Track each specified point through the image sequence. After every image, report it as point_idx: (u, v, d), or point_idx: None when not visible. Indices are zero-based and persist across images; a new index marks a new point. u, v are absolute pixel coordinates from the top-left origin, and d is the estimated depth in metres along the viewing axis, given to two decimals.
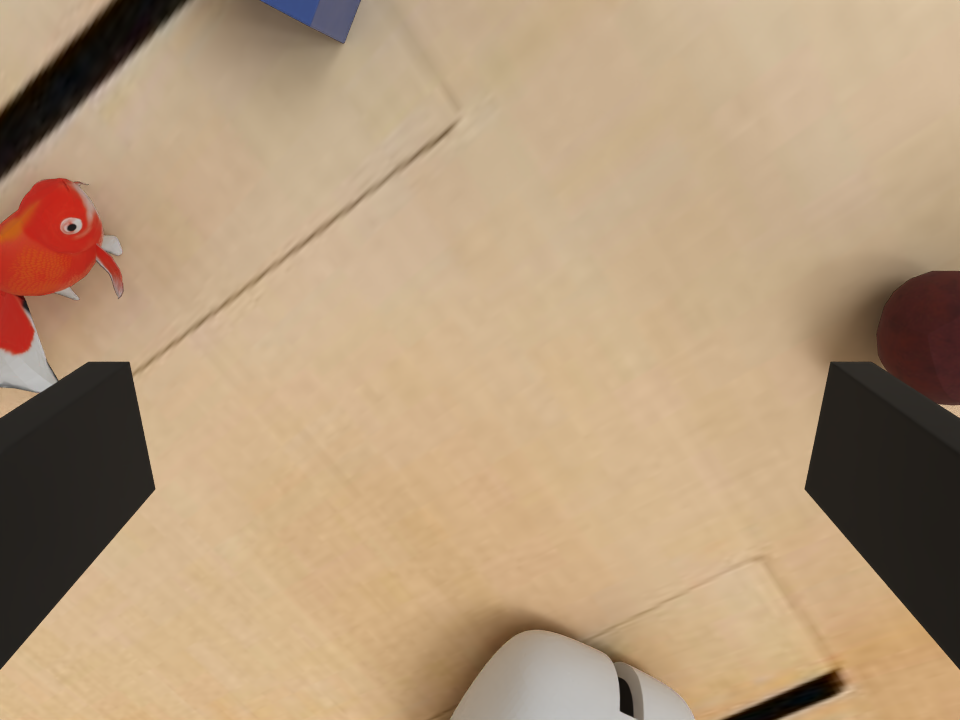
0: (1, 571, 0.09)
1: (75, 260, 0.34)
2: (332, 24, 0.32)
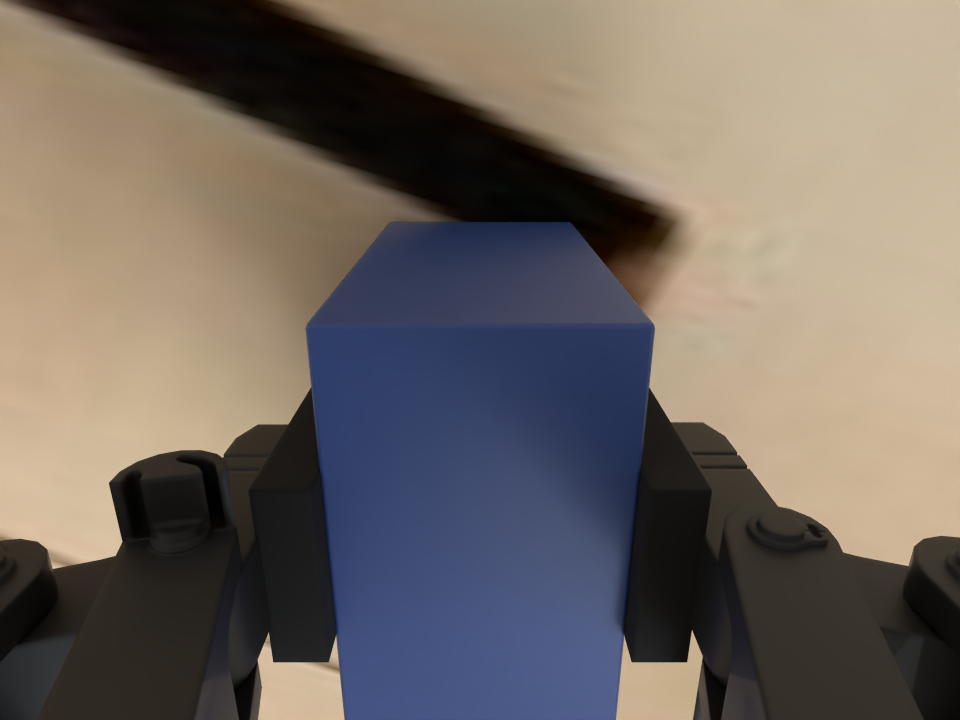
0: None
1: None
2: None
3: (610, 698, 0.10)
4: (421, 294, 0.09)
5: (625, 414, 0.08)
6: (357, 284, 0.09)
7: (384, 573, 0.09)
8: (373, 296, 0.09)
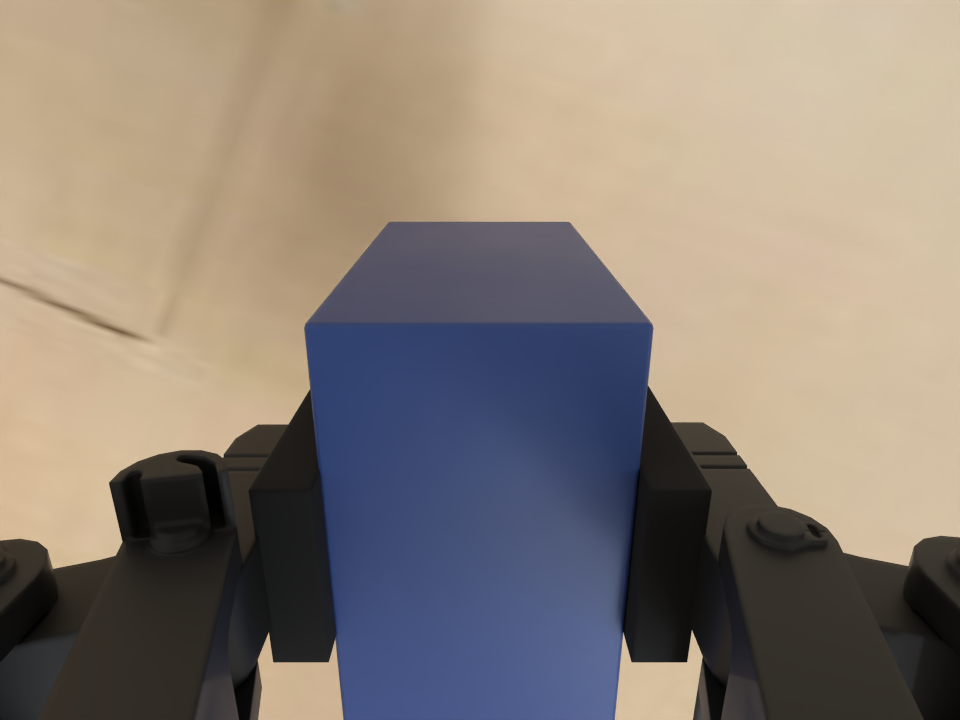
0: None
1: None
2: None
3: (609, 698, 0.10)
4: (420, 294, 0.09)
5: (624, 414, 0.08)
6: (356, 283, 0.09)
7: (384, 573, 0.09)
8: (371, 296, 0.09)
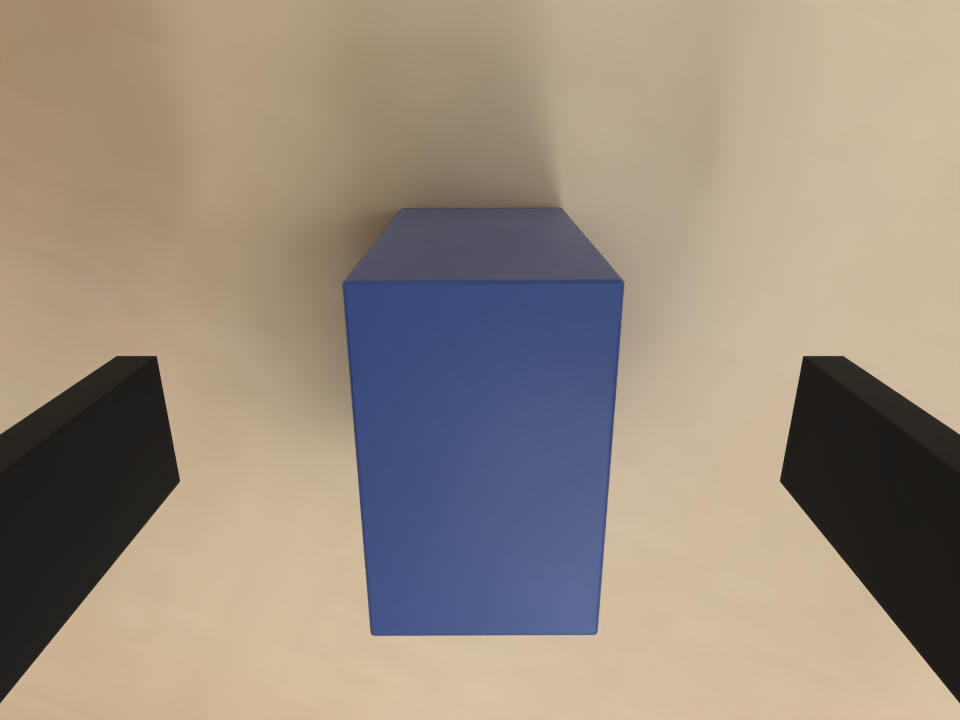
0: (42, 557, 0.09)
1: None
2: None
3: (593, 601, 0.12)
4: (434, 261, 0.11)
5: (601, 355, 0.10)
6: (380, 254, 0.11)
7: (404, 492, 0.11)
8: (394, 262, 0.11)
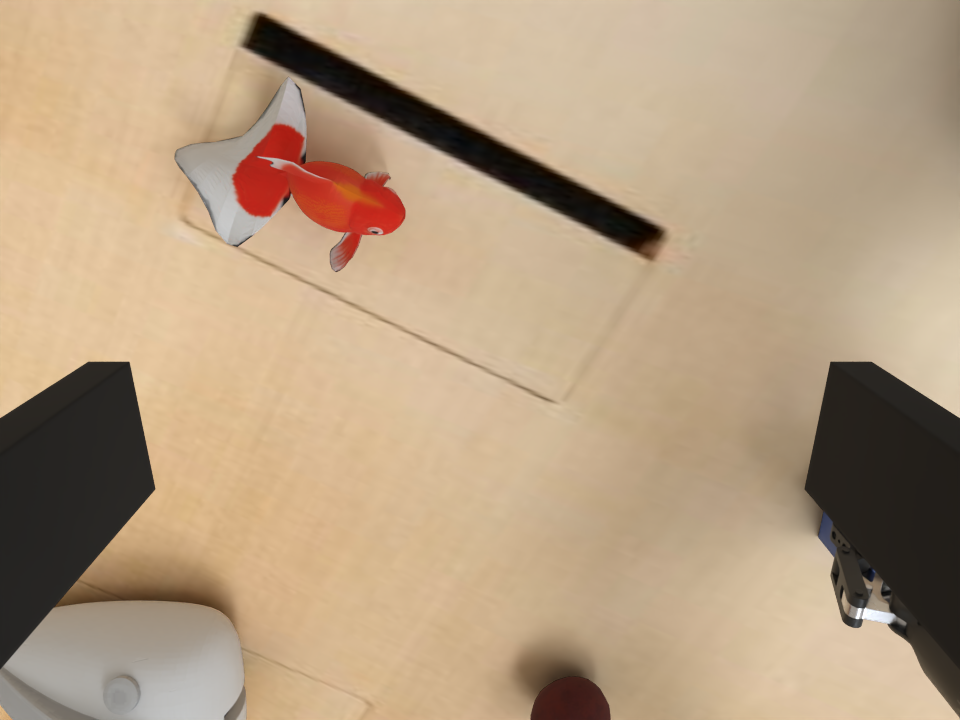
0: (1, 571, 0.09)
1: (345, 229, 0.43)
2: None
3: None
4: None
5: None
6: None
7: None
8: None
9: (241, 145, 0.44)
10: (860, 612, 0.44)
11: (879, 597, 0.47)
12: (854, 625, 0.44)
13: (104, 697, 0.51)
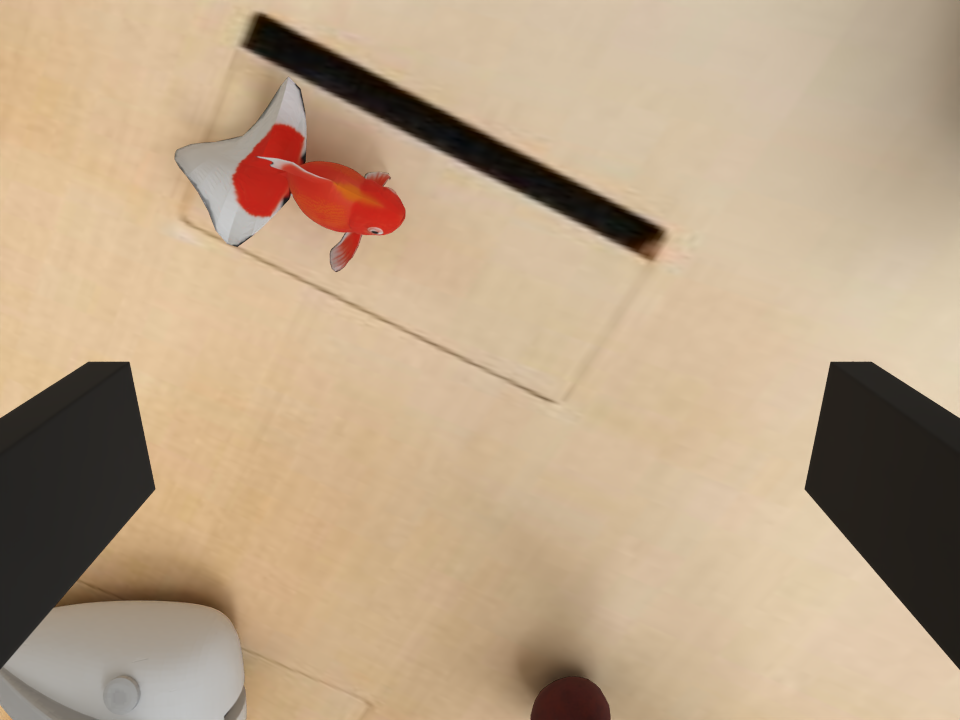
0: (1, 571, 0.09)
1: (345, 229, 0.43)
2: None
3: None
4: None
5: None
6: None
7: None
8: None
9: (241, 145, 0.44)
10: None
11: None
12: None
13: (104, 697, 0.51)
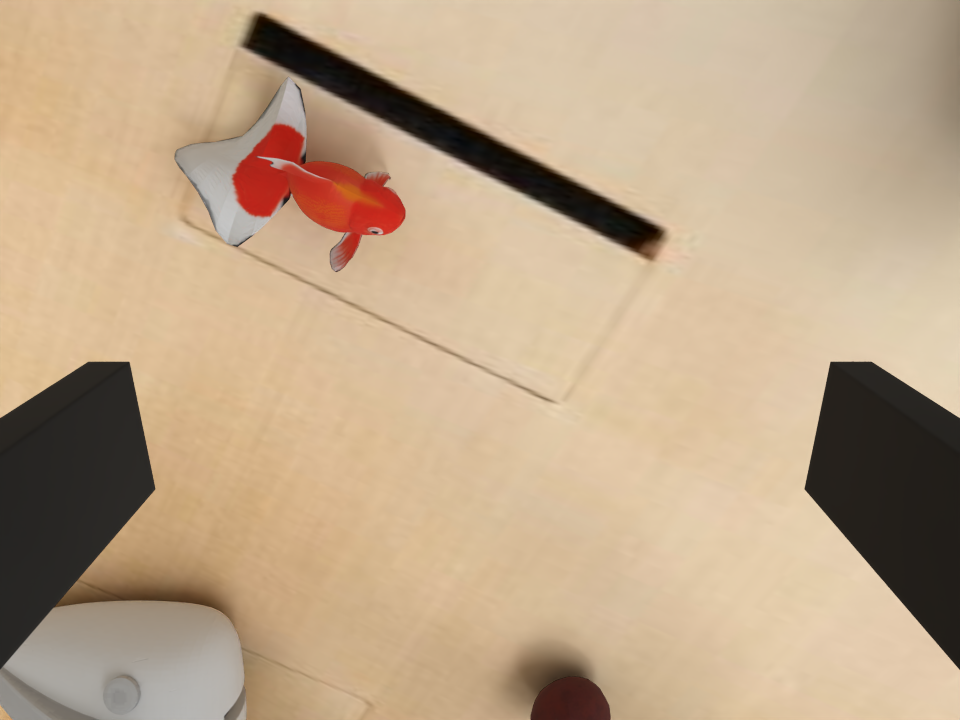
0: (1, 571, 0.09)
1: (345, 229, 0.43)
2: None
3: None
4: None
5: None
6: None
7: None
8: None
9: (241, 145, 0.44)
10: None
11: None
12: None
13: (104, 697, 0.51)
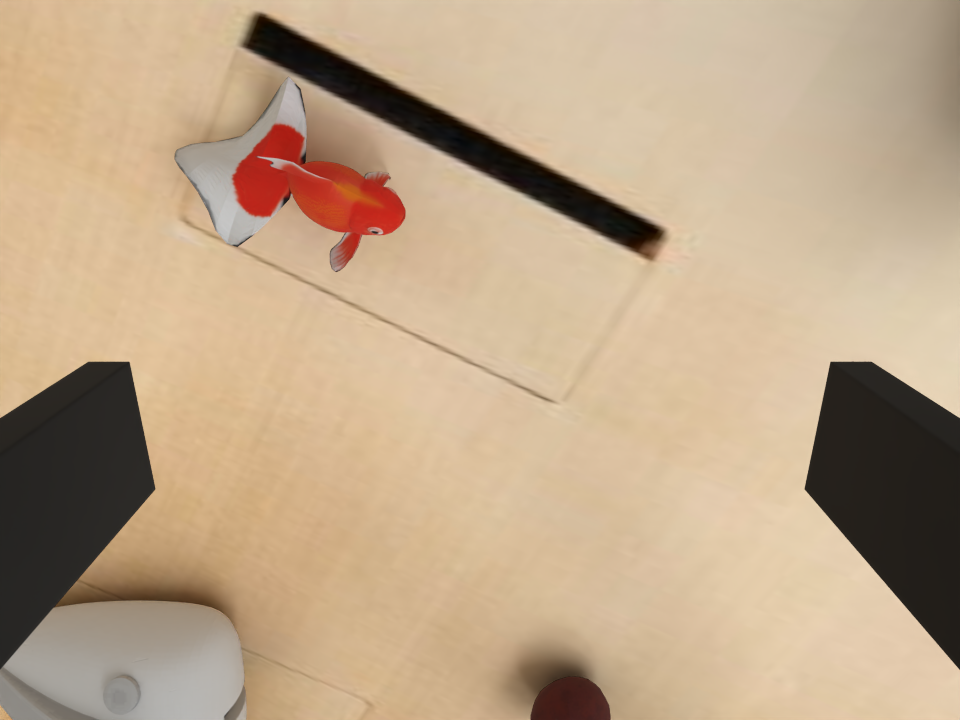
0: (1, 571, 0.09)
1: (345, 229, 0.43)
2: None
3: None
4: None
5: None
6: None
7: None
8: None
9: (241, 145, 0.44)
10: None
11: None
12: None
13: (104, 697, 0.51)
